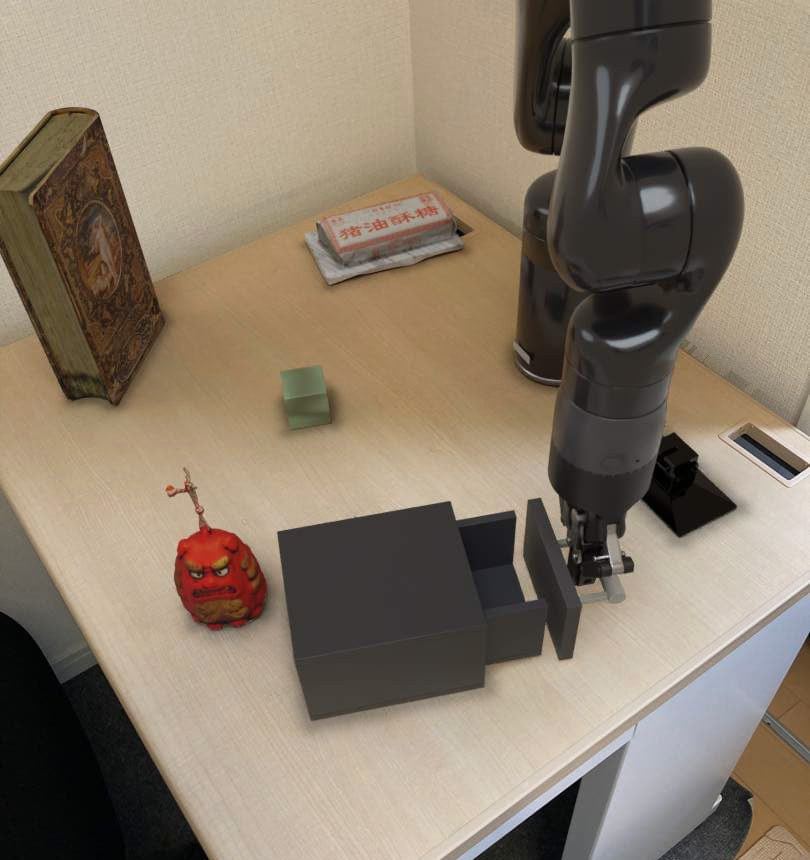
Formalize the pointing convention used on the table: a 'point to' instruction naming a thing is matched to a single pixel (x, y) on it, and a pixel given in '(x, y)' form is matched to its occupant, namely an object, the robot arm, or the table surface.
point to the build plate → (683, 489)
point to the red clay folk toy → (217, 573)
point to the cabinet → (382, 610)
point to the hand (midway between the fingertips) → (580, 577)
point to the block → (305, 397)
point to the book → (77, 255)
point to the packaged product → (383, 236)
